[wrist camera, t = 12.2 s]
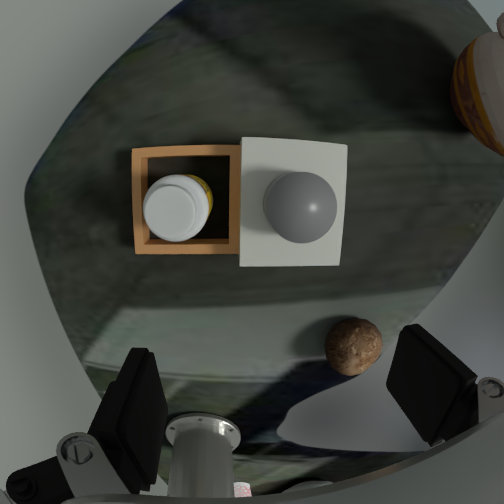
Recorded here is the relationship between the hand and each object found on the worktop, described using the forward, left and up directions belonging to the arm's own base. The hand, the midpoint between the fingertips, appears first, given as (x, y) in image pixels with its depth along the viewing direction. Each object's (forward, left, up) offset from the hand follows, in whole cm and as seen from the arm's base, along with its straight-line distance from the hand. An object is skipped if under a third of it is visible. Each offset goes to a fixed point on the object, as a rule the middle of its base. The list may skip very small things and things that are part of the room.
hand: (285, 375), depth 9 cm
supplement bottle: (+4, +6, -23) cm, 24 cm away
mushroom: (-14, -14, -23) cm, 31 cm away
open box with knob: (+4, +1, -23) cm, 23 cm away
